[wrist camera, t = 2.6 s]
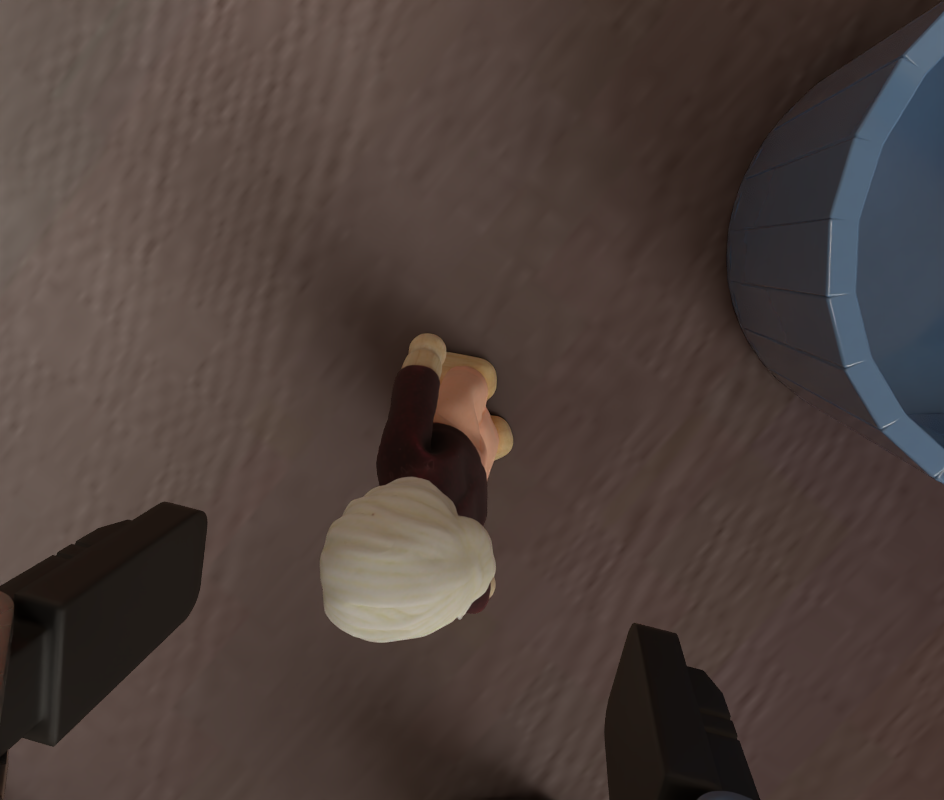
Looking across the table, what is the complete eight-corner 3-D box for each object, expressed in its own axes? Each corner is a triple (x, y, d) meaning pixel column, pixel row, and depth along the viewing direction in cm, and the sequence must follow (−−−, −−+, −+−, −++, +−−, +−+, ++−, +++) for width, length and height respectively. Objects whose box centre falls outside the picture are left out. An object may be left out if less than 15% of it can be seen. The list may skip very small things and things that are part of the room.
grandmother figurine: (378, 347, 24) (187, 448, 12) (475, 305, 23) (380, 365, 11) (464, 534, 25) (372, 806, 13) (559, 500, 24) (559, 754, 12)
